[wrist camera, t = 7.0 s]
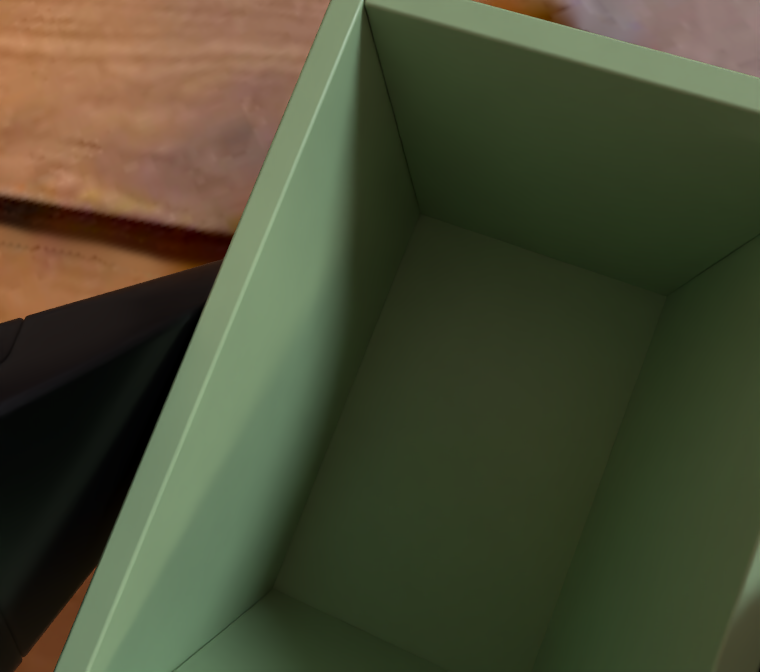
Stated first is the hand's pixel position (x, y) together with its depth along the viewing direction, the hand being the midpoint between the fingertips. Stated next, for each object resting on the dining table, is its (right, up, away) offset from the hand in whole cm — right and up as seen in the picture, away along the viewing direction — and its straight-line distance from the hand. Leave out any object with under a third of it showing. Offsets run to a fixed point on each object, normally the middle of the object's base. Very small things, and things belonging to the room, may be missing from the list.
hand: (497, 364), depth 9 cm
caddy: (0, -2, +6) cm, 7 cm away
